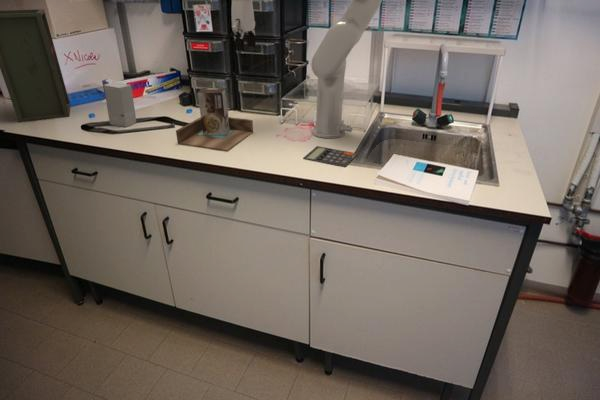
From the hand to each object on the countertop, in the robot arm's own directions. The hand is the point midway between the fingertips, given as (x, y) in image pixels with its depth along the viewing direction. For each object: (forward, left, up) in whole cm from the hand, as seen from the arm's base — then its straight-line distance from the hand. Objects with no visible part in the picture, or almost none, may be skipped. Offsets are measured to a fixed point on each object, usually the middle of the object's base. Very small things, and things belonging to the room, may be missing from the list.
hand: (246, 48), depth 151 cm
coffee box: (+7, +15, -29) cm, 33 cm away
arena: (+5, +18, -29) cm, 35 cm away
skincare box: (+48, +17, -29) cm, 59 cm away
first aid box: (+89, +18, -29) cm, 95 cm away
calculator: (-39, +20, -30) cm, 53 cm away
